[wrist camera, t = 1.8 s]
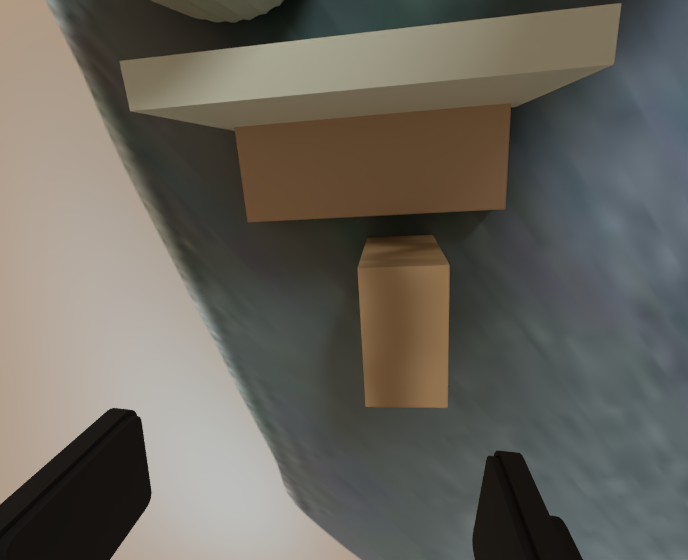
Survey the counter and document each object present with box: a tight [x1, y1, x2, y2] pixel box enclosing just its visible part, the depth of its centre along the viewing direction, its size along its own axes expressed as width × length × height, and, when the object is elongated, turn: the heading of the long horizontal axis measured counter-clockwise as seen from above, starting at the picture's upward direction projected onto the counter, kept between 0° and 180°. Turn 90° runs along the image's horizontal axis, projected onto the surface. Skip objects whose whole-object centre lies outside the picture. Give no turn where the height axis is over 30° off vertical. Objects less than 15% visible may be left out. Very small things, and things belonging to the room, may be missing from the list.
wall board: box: [119, 3, 622, 222], centre depth 22 cm, size 20×8×12 cm, turn 94°
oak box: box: [357, 235, 450, 408], centre depth 26 cm, size 5×10×9 cm, turn 4°
